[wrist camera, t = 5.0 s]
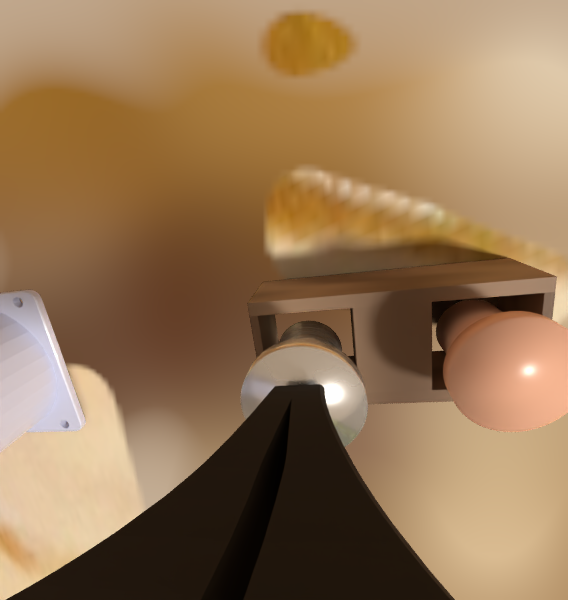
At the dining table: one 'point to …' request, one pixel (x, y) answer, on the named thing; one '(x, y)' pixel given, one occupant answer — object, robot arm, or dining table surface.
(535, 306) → the plug block
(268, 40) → the dining table surface
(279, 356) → the grey plug
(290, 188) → the dining table surface
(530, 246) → the dining table surface
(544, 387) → the terracotta plug
